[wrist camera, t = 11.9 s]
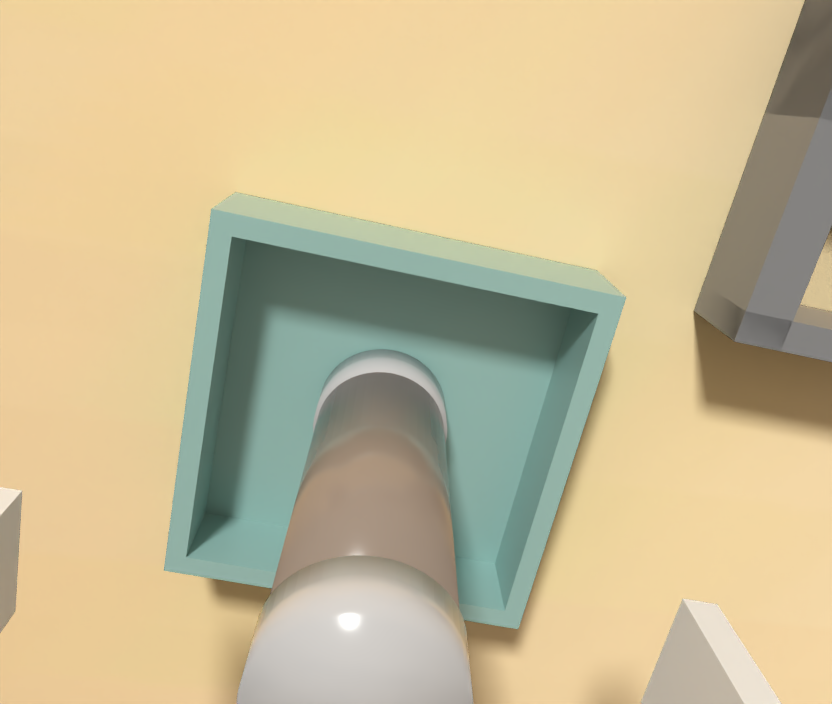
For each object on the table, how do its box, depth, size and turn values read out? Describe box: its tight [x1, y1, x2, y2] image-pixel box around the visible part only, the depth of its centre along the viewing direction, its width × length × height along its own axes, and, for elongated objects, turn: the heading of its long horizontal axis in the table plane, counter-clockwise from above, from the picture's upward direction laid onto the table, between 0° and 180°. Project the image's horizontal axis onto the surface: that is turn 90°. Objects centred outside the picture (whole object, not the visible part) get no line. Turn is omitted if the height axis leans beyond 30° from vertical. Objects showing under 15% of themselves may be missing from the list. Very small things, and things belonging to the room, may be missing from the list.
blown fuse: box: [237, 349, 473, 704], centre depth 18 cm, size 4×4×12 cm
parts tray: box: [164, 192, 626, 629], centre depth 23 cm, size 11×11×3 cm
